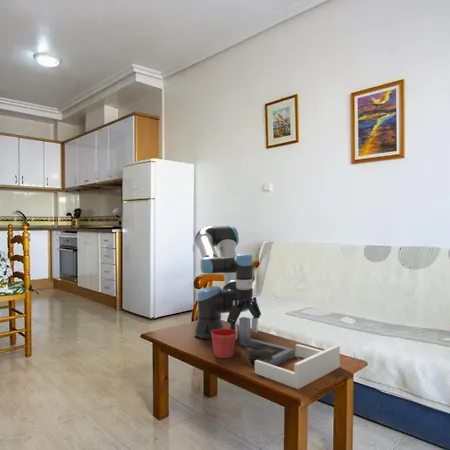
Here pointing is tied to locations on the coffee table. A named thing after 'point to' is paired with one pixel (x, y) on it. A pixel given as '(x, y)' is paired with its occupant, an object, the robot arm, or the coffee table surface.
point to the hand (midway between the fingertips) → (244, 334)
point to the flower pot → (223, 342)
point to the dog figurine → (257, 354)
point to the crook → (263, 344)
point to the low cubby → (302, 366)
